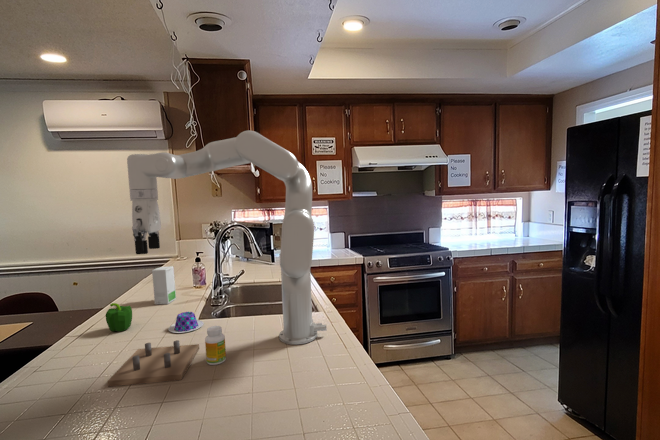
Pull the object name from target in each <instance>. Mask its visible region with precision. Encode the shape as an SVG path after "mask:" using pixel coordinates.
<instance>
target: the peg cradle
mask: <svg viewBox="0 0 660 440" xmlns="http://www.w3.org/2000/svg"><path fill="white" fill-rule="evenodd" d="M199 350H200V344H198V343H196V344H187V345H186V344H185V345H180V340H174V341H173V346H172V345H171V346H161V347H152V343H151V342H146V343H144V348H138V349H137V350H136V351H135V352H134V353H133V354H132V355H131V356H130V357H129V358H128V359H126V361H125V362H124V363H123V364H122V365H121V366H120V367H119V369H118V370H117V371H116V372H115V373H113V375H112V376H111V377H110V378H109V379H107V387H118V386H128V385H129V386H131V385H140V384H142V385H143V384H152V383H153V384H154V383H162V382H174V381H182V380H183V378H184V377H185V375H186V373H187V371H188V369H189V367H190V366H191V364H192V362H193V361H194V359H195V357H196V355H197V354H198V352H199Z"/></svg>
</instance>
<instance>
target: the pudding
mask: <svg viewBox="0 0 660 440" xmlns="http://www.w3.org/2000/svg"><path fill="white" fill-rule="evenodd" d="M204 324H205V323H204V321H203V320H199V319H197V317H196V314H195V313H194V312H193V311H184V312H181V313H178V314H177V315H176V319H175V322H174V323H173V324H171V325H170V326H169V327H168V329H167V330H168V331H169V332H170V333H176V334H181V333H184V332H185V333H189V332H192V331H196V330H198V329H199V328H202V327H203V326H204Z"/></svg>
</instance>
